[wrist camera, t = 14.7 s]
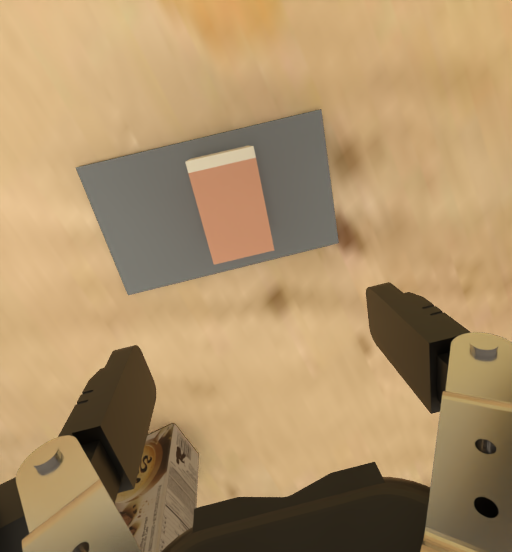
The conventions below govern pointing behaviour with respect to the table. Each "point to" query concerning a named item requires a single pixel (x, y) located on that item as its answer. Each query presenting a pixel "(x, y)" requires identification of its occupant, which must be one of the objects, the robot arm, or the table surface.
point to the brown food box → (162, 490)
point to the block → (231, 203)
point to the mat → (184, 211)
